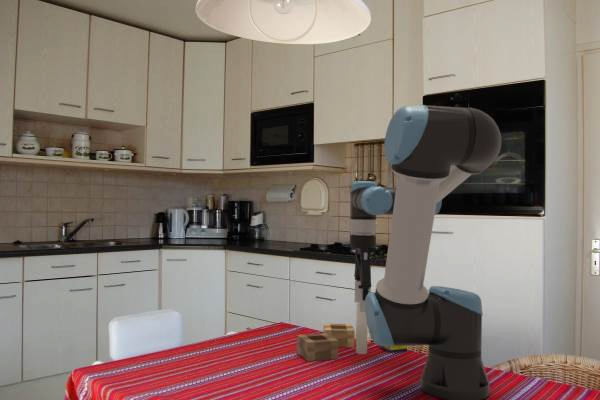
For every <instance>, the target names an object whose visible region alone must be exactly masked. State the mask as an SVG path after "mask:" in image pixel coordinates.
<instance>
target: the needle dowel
mask: <svg viewBox="0 0 600 400" xmlns="http://www.w3.org/2000/svg"><path fill="white" fill-rule="evenodd" d="M355 310H356V311H355V312H356V318H355V319H356V320H355V321H356V322H355V327H356V328H355V353H356V354H359V355H366V354H368V326H367V321H366V314H365V312H360V303H356V309H355Z"/></svg>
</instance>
